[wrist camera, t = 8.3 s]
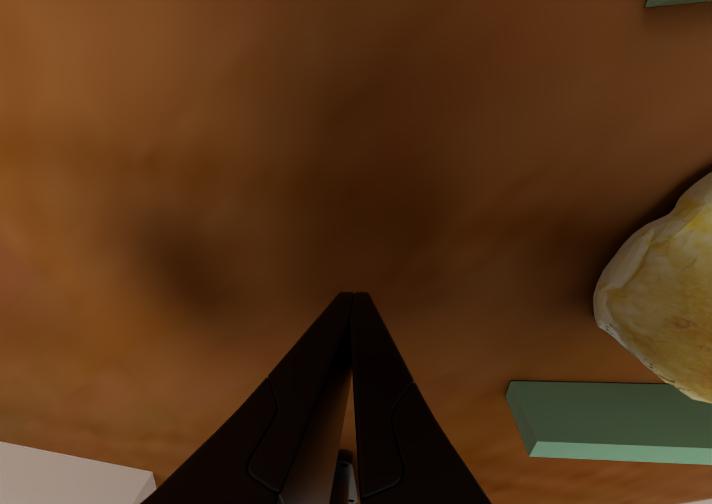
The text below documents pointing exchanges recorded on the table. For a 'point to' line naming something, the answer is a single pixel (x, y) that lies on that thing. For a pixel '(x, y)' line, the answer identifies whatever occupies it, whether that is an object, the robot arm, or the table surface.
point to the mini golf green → (612, 414)
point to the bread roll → (666, 294)
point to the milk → (67, 479)
